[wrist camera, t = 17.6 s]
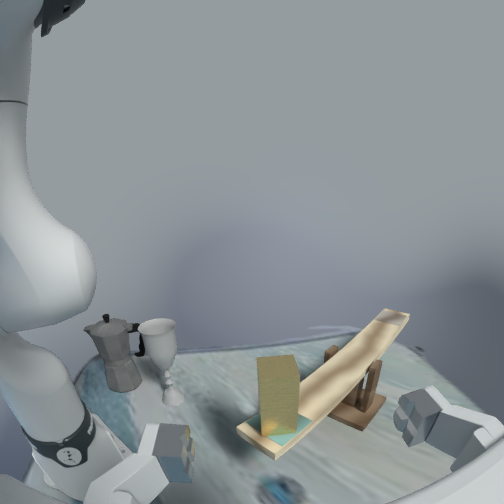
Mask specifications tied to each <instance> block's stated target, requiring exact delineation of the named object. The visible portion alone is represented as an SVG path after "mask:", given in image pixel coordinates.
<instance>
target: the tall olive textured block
mask: <svg viewBox="0 0 504 504" xmlns="http://www.w3.org/2000/svg"><path fill="white" fill-rule="evenodd" d="M257 375H258V396H259V415H260V424H261V434H262V437H264V436H275V435H284V434H293V433H296V431H297V419H298V406H299V391H300V373H299V370H298V367H297V364H296V361H295V358H294V355H283V356H271V357H258V358H257Z"/></svg>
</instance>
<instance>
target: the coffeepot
mask: <svg viewBox="0 0 504 504" xmlns="http://www.w3.org/2000/svg"><path fill="white" fill-rule="evenodd" d="M103 319H104V320H103V321H99V322H98V323H96V324H94V325H90V326H88V327H85V329H84V331H86V332H87V333H88V334H89V335H90V337H91V338H92V339H93V341H94V343H95V345H96V347H97V350H98V352H99V354H100V356H101V358H102V359H103V360H104V364H105V370H106V376H107V381H108V386H109V389H111V390H113V391H115V392H129V391H132V390H134V389H136V388H137V387H138V386H139V385H140V383H141V382H142V379H141V376H140V374H139V372H138V370H137V368H136V366H135V363H134V361H133V359H132V357H131V355H130V345H129V334H128V333H132V332H137V331H138V327H139V326H140V324H138V323H135V324H133V323H127V322H126V320H121V319H116V318H113V319H109V315H108V314H105V315H103ZM138 332H139V331H138ZM139 333H140V332H139ZM139 338H140V344H139V350H140V352H138V353H135V355H136V356H137V357H141V356H144V354H145V346H144V342H143V338H142V335H141V333H140V337H139Z"/></svg>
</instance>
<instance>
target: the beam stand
mask: <svg viewBox="0 0 504 504" xmlns="http://www.w3.org/2000/svg"><path fill="white" fill-rule="evenodd" d="M338 348H339V347H338V346H335V345H333V346H331V347H330V348H329V349H328V350H326V351H325V356H324V363H326V362H327V361H328V360H329V359H330V358H332V357H333V356H334V355H335V354H336V353H337V352H338ZM381 366H382V361H381V360H378V359H376V361H375V362H374V363H373V364H372V365H371V366H370V368H369V373H368V378H367V383H366V387H365V389H362V387H363V382H364V377H365V376H364V377H363V378H362V379H361V380H360V382H359V383H358V384H357V385H356V386H355V387H354V388H353V389H352V390H351V391H350V392H349V393H348V395H347V396H346V397H345V398H344V399H343V400H342V401H341V402H340V403H339V404H338V405H337V406H336V407H335V408H334V409H333V410H332V411H331V412H330V413H329V414H328V415H327V416H329V417H331V418H333V419H335V420H337V421H340V422H342V423H344V424H346V425H349V426H351V427H353V428H356V429H358V430H360V431H363V430H364V429H365V428H366V426H367V425H368V424H369V422H370V421H371V420H372V419H373V417H374V416H375V415H376V413H377V412H378V411H379V409H380V408H381V406H382V405H383V404H384V402H385V400H386V397H384V396H381V395H379V394H376V393H375V391H376V387H377V383H378V379H379V375H380V370H381Z"/></svg>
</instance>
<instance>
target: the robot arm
mask: <svg viewBox="0 0 504 504" xmlns="http://www.w3.org/2000/svg"><path fill="white" fill-rule="evenodd" d="M84 3H85V0H0V393H1V394H2V396H3V397H4V399H5V401H6V402H7V404H8V405H9V407H10V409H11V410H12V412H13V413H14V415H15V416H16V418H17V419H18V421H19V422H20V424H21V427H22V430H23V432H24V434H25V436H26V438H27V440H28V441H29V443H30V444H31V445H32V451H33V453H32V456H33V458H34V459H35V461H36V462H37V463H38V465H39V466H40V468H41V469H42V470H43V475H44V481H45V483H46V484H47V485H48V486H50V487H52V488H55V489H59V490H61V491H62V492H64V493H65V494H67V495H68V496H70V497H71V498H73V499H76V500H79V501H83V504H150V503H151V502H152V501H153V500H154V498H155V497H156V496H157V495H158V494H159V493H160V492H161V491H162V490H163V489H164V488H165V487H166V486H167V485H168V484H169V482H186V483H192V477H193V467H192V465H191V463H192V462H193V461H194V456H195V450H194V442H193V439H192V438H191V437H190V429H189V426H188V425H176V424H163V423H151V422H148V423H147V424H146V426H145V429H144V432H143V435H142V439H141V442H140V445H139V448H138V452H137V453H132V452H131V450H129V449H128V448H127V447H126V446H125V445H124V444H123V443H122V442H121V441H120V440H119V438H118V437H117V436H116V435H115V434H114V433H113V432H112V431H111V430H110V429H109V428H108V427H107V426H106V425H105V423H104V422H103V421H102V420H101V419H100V418H99V417H98V416H97V415H96V414H91V413H90V411H89V409H88V408H87V406H86V405H85V403H84V402H83V401H82V400H81V399H80V398H79V396H78V394H77V391H76V389H75V387H74V385H73V382H72V380H71V377H70V375H69V373H68V370H67V368H66V366H65V365H64V363H63V362H62V361H61V360H60V359H59V358H58V357H57V356H56V355H55V354H53V353H52V352H51V351H49V350H47V349H45V348H42V347H39V346H36V345H33V344H30V343H29V342H27V341H26V340H24V339H23V338H22V337H21V336H20V335H19V334H18V333H17V332H18V331H23V330H29V329H34V328H39V327H44V326H49V325H54V324H57V323H59V322H62V321H64V320H66V319H68V318H71V317H73V316H75V315H77V314H79V313H81V312H83V311H86V310H87V309H88V307H89V305H90V303H91V301H92V299H93V296H94V293H95V289H96V278H97V277H96V267H95V262H94V259H93V256H92V254H91V251H90V249H89V248H88V246H87V245H86V243H85V242H84V240H83V239H82V238H81V237H80V236H79V235H77V234H76V233H75V232H74V231H72V230H70V229H69V228H67V227H65V226H64V225H62V224H61V223H59V222H58V221H57V220H56V219H55V218H54V217H52V216H51V214H49V212H48V211H47V210H46V209H45V207H44V206H43V205H42V203H41V202H40V200H39V199H38V197H37V195H36V193H35V191H34V188H33V186H32V183H31V180H30V177H29V172H28V165H27V155H26V118H27V106H28V95H29V83H30V70H31V69H30V68H31V50H32V33H33V31H34V29H35V28H37V27H38V26H39V25H40V24H42V28H41V37H44V36H45V35H48V34H49V32H50V30H51V28H52V26H53V25H55V24H57V23H59V22H61V21H63V20H64V19H66V18H68V17H69V16H70V15H71V14H72V13H74V12H75V11H76V10H77V9H78V8H79V7H81V6H82V5H83V4H84ZM398 403H399V407H398V408H397V409H396V410H395V412H394V416H393V418H394V424H395V427H396V428H397V430H399V431H401V432H403V435H402V438H403V439H404V441H405V442H406V444H407V446H408V447H411V446H413V445H416V444H419V443H421V442H424V441H425V442H426V443H428V444H430V445H432V446H434V447H435V448H437V449H439V450H441V451H443V452H445V453H447V454H449V455H451V456H453V457H455V458H456V460H455V461H454V462H453V464H452V465H451V467H450V469H451V471H452V473H450V474H449V475H447V476H445V477H443V478H441V479H440V480H438V481H436V482H434V483H432V484H430V485H428V486H426V487H424V488H422V489H420V490H417V491H415V492H413V493H411V494H409V495H406V496H404V497H402V498H399V499H397V500H394V501H392V502H389V503H387V504H504V426H503V425H502V424H501V423H500V422H499V421H498V420H497V419H496V418H495V417H493V416H489V415H486V414H482V413H479V412H476V411H472V410H469V409H466V408H463V407H460V406H456V405H453V406H452V405H451V404H450V403H449V402H448V401H447V400H446V399H445V398H444V397H443V396H442V395H441V394H440V392H439V391H438V390H437V389H436V388H435V387H434V386H432V385H430V386H427V387H425V388H422V389H419V390H416V391H413V392H410V393H407V394H404V395H402V396H401V397H400V398H399V401H398ZM122 452H124V453H122ZM0 504H68V503H65V502H63V501H60V500H58V499H55V498H53V497H51V496H48V495H46V494H44V493H42V492H40V491H37V490H35V489H33V488H31V487H29V486H27V485H25V484H24V483H22V482H20V481H18V480H16V479H14V478H13V477H11V476H9V475H5V474H1V475H0Z"/></svg>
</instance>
